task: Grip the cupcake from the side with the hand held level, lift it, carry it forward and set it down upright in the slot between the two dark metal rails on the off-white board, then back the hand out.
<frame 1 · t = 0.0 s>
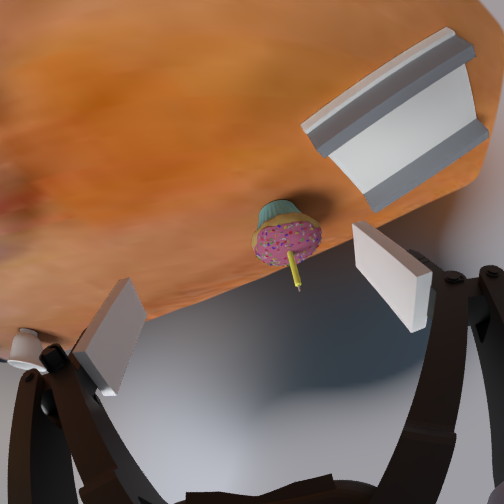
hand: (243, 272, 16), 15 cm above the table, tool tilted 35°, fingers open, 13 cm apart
teacup: (26, 331, 56), on the table
cupcake: (278, 210, 37), on the table
rail board: (405, 118, 26), on the table
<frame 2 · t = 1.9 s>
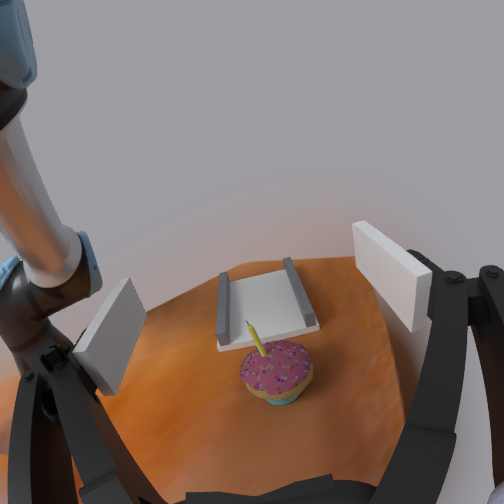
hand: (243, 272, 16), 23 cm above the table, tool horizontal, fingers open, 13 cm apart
cupcake: (283, 391, 33), on the table
rail board: (263, 306, 52), on the table
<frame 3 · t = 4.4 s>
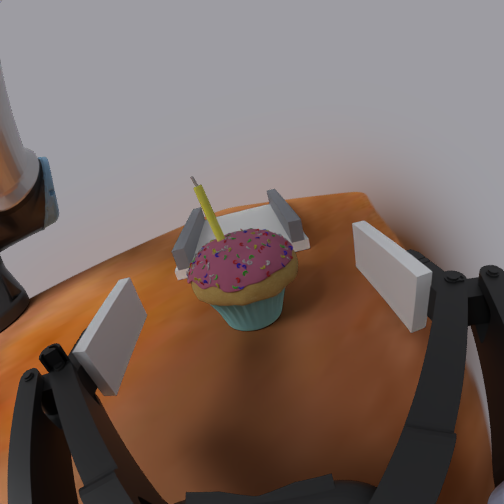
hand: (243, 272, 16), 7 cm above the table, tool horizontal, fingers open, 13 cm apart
cupcake: (256, 314, 24), on the table
rail board: (240, 236, 42), on the table
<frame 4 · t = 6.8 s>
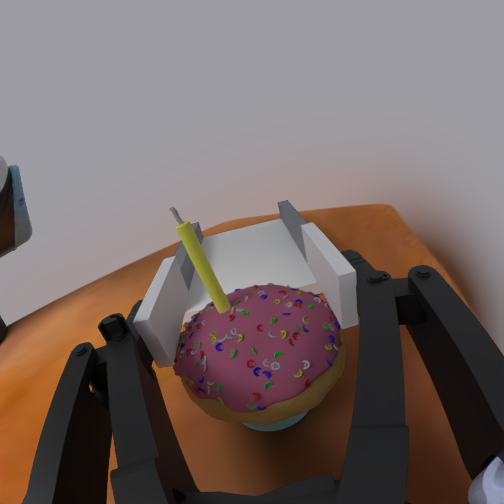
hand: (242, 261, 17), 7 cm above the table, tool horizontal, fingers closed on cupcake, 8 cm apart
cupcake: (275, 399, 15), on the table, touching gripper
rail board: (247, 262, 34), on the table
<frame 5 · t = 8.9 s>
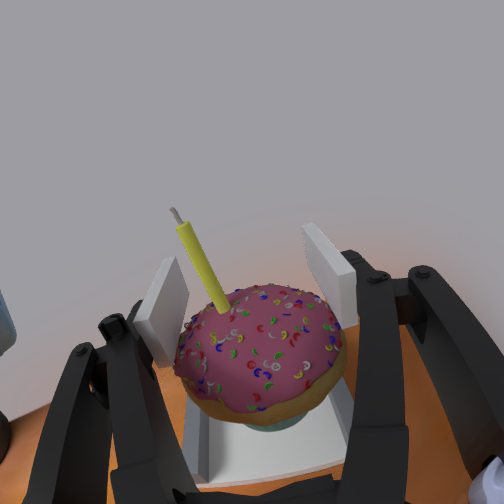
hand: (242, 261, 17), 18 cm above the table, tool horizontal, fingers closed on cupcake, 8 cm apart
cupcake: (275, 400, 15), point 10 cm above the table, touching gripper
rail board: (267, 398, 27), on the table
when the fingers open (10 cm above the table, at t = 11.4 s): cupcake drops 1 cm, resting on rail board.
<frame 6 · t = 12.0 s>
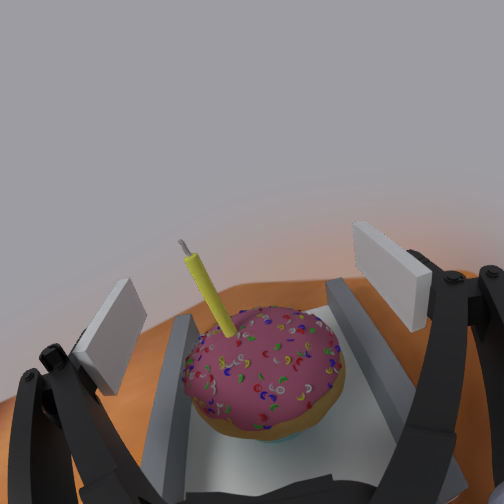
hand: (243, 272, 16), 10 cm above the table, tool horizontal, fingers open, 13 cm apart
cupcake: (278, 412, 16), point 1 cm above the table, touching rail board
rail board: (281, 419, 16), on the table
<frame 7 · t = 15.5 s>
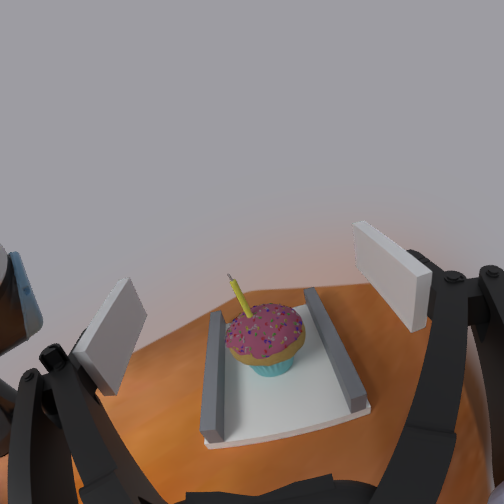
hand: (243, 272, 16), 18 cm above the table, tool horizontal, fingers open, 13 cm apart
cupcake: (274, 362, 31), point 1 cm above the table, touching rail board
rail board: (276, 368, 32), on the table
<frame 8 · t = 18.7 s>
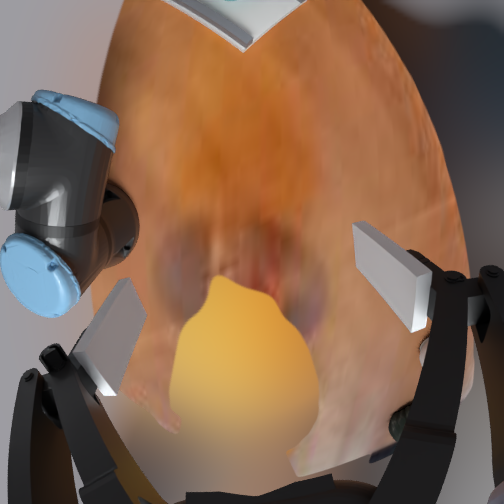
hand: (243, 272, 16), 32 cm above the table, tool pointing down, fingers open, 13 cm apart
squash: (403, 411, 76), on the table
teacup: (427, 347, 64), on the table
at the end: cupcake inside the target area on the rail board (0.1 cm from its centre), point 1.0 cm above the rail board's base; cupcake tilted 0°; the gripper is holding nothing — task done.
